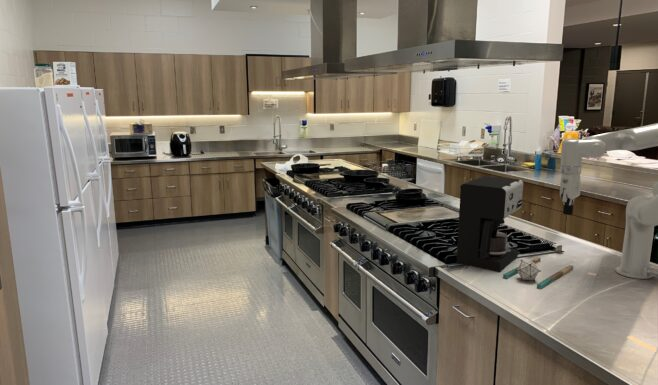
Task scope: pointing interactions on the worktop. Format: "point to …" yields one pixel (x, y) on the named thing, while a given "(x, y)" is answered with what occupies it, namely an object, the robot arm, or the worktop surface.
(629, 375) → the worktop surface
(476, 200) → the coffee maker
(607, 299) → the worktop surface
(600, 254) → the worktop surface
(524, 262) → the game die
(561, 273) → the pair of wooden rods
